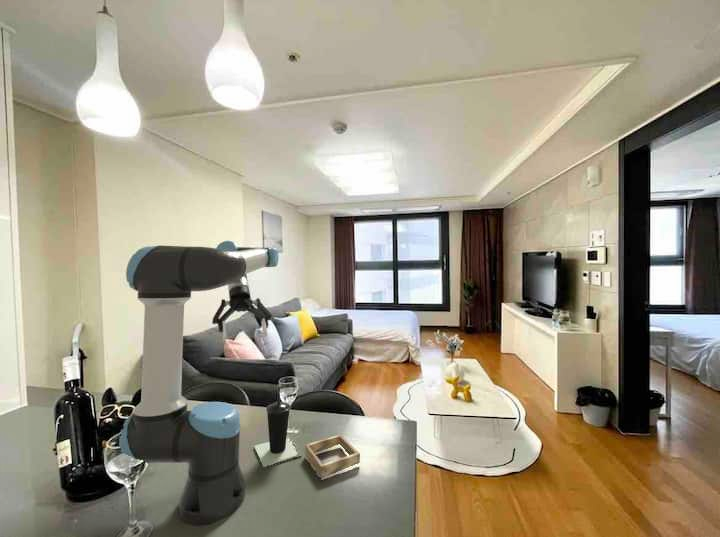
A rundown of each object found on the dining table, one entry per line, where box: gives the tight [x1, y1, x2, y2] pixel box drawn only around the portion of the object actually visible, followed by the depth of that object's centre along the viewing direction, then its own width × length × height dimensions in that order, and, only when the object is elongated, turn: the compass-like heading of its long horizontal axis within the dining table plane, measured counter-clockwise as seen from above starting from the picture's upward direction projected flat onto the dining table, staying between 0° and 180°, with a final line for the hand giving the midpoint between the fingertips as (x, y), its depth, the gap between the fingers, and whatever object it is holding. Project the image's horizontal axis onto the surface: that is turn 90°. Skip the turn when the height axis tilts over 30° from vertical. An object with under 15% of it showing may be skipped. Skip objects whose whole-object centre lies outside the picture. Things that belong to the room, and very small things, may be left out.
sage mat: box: [253, 436, 298, 466], centre depth 99 cm, size 12×12×1 cm
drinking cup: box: [265, 386, 292, 454], centre depth 100 cm, size 8×8×20 cm
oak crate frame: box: [304, 434, 361, 479], centre depth 94 cm, size 13×13×4 cm
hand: (246, 337), depth 107 cm, fingers open, 13 cm apart
